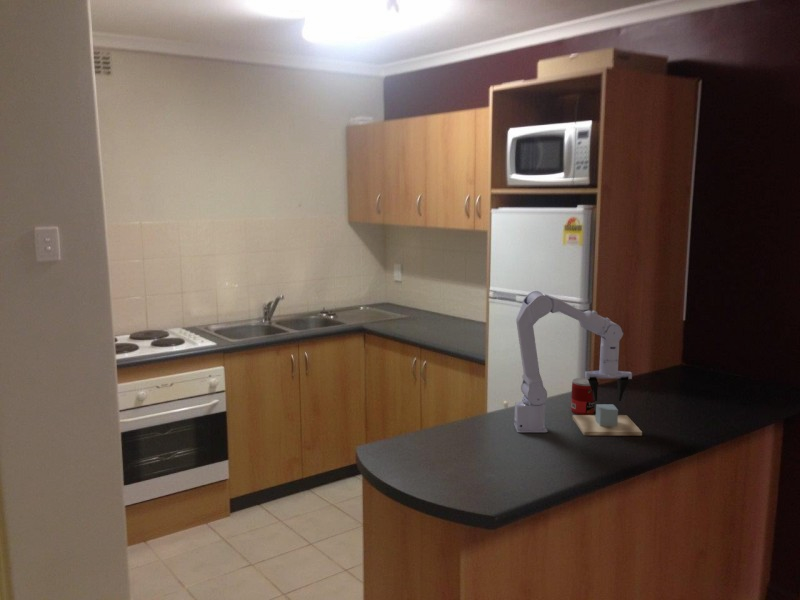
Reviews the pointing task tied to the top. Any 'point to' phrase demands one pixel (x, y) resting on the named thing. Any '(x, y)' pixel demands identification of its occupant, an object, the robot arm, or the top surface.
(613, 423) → the cube
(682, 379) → the top surface
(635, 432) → the board
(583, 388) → the canned food
